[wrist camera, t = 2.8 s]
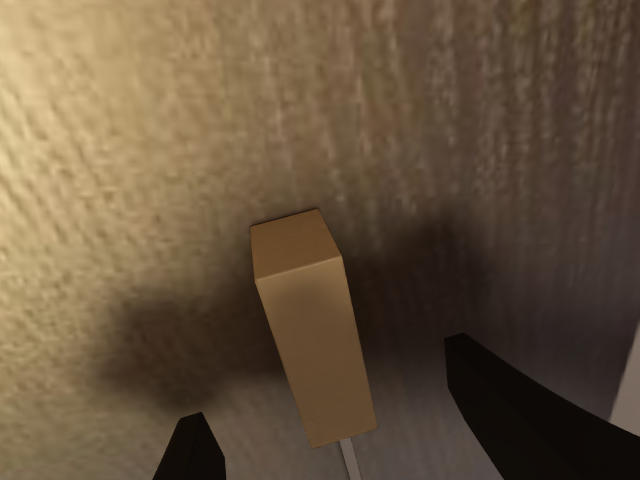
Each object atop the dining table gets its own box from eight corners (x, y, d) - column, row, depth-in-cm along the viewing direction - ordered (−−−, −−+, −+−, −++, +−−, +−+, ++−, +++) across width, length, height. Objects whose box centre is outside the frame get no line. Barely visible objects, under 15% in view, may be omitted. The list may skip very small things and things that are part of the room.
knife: (249, 226, 13) (253, 280, 10) (318, 207, 13) (342, 256, 10) (350, 541, 21) (367, 618, 19) (390, 527, 21) (414, 602, 19)
